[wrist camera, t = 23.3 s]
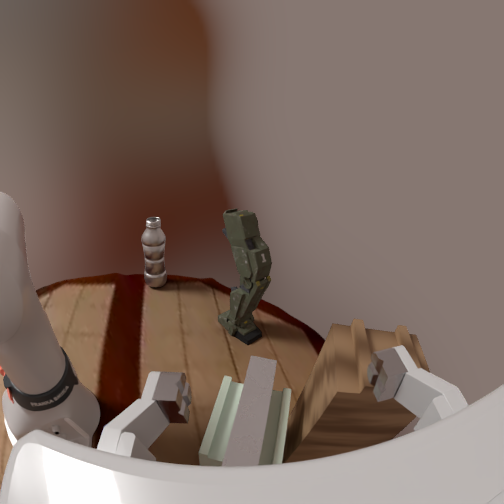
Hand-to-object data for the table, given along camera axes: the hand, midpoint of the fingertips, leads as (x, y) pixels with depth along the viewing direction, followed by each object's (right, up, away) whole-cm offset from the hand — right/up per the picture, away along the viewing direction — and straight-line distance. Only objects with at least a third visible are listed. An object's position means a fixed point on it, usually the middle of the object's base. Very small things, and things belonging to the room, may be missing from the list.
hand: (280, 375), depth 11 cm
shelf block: (-4, -29, +24) cm, 38 cm away
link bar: (-2, -16, +17) cm, 23 cm away
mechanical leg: (-5, -13, +54) cm, 56 cm away
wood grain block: (+10, -29, +26) cm, 41 cm away
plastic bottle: (-29, -4, +65) cm, 71 cm away
